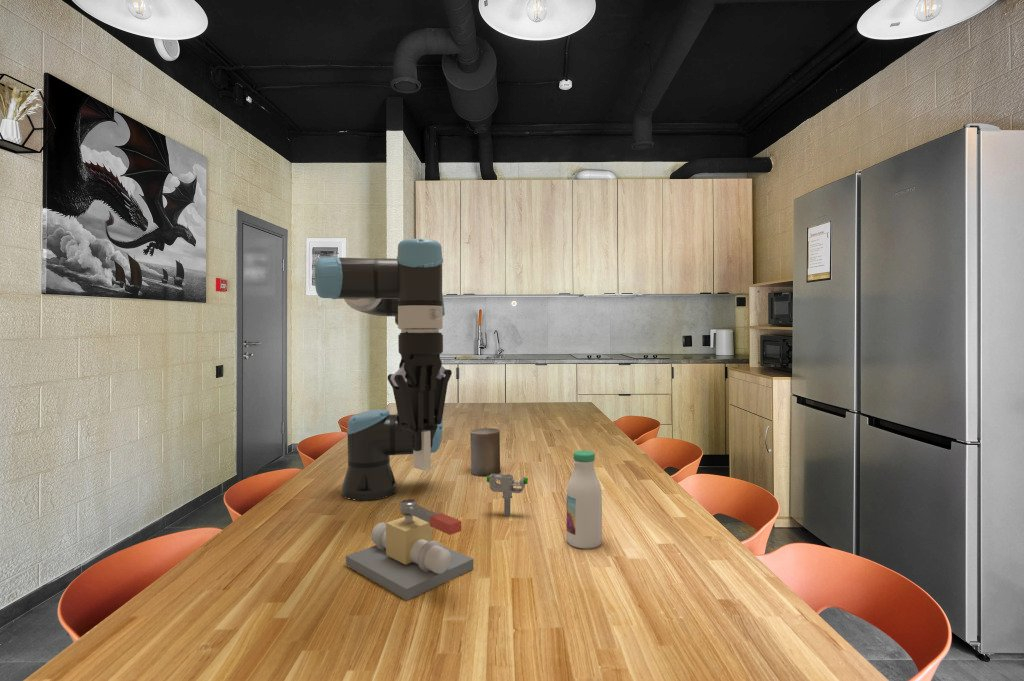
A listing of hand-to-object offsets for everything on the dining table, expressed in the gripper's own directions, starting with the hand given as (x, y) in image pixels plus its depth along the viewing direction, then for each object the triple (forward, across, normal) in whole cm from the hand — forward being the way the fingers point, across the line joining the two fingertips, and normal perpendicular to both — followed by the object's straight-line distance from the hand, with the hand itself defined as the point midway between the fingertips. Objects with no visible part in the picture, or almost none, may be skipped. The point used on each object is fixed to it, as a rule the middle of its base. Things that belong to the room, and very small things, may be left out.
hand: (422, 467), depth 91 cm
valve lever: (+12, +6, +5) cm, 15 cm away
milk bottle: (+24, +38, -10) cm, 46 cm away
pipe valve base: (+23, +7, +12) cm, 27 cm away
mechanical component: (+24, +42, +14) cm, 50 cm away
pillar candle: (+24, +68, +44) cm, 84 cm away
